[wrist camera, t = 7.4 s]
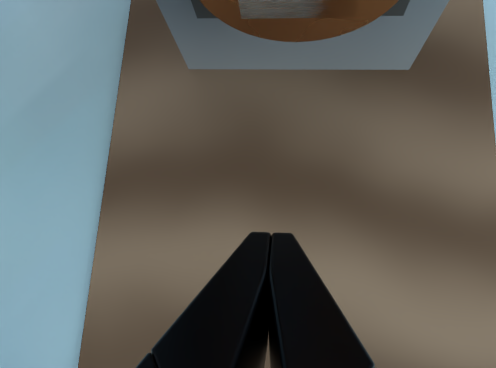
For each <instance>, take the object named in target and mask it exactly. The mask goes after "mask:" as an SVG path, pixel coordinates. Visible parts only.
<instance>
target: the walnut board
mask: <svg viewBox="0 0 496 368" xmlns="http://www.w3.org/2000/svg"><path fill="white" fill-rule="evenodd" d="M251 232H269V233H270V234H271V236H272V234H273V233H275V232H280V233H292V234H293V235H294V236H295V238H296V239H297V241H298V243H299V244H300V246H301V247H302V249H303V251H304V252H305V254H306V255H307V257H308V259H309V260H310V262H311V263H312V265H313V267H314V268H315V270H316V271H317V273H318V274H319V276H320V278H321V279H322V281H323V282H324V284H325V286H326V287H327V289H328V290H329V292H330V294H331V295H332V297H333V298H334V300H335V301H336V303H337V305H338V306H339V308H340V309H341V311H342V313H343V314H344V316H345V317H346V319H347V321H348V322H349V324H350V325H351V327H352V328H353V330H354V332H355V333H356V335H357V336H358V338H359V340H360V341H361V343H362V344H363V346H364V348H365V349H366V351H367V352H368V354H369V356H370V357H371V359H372V360H373V362H374V364H375V367H376V368H496V145H495V133H494V122H493V111H492V99H491V88H490V77H489V65H488V54H487V43H486V31H485V20H484V9H483V0H449V2H448V4H447V5H446V7H445V9H444V11H443V12H442V14H441V16H440V17H439V19H438V21H437V23H436V24H435V26H434V28H433V29H432V31H431V33H430V35H429V36H428V38H427V40H426V41H425V43H424V45H423V47H422V48H421V50H420V52H419V54H418V55H417V57H416V59H415V60H414V62H413V64H412V66H411V67H410V69H409V70H276V69H188V67H187V64H186V62H185V60H184V58H183V56H182V54H181V52H180V50H179V48H178V46H177V44H176V42H175V39H174V37H173V35H172V33H171V31H170V29H169V27H168V25H167V23H166V21H165V19H164V17H163V14H162V12H161V10H160V8H159V6H158V4H157V2H156V0H131V5H130V12H129V19H128V26H127V33H126V40H125V46H124V53H123V60H122V67H121V74H120V81H119V88H118V95H117V102H116V109H115V115H114V122H113V129H112V136H111V143H110V150H109V157H108V164H107V171H106V177H105V184H104V191H103V198H102V205H101V212H100V219H99V226H98V233H97V240H96V246H95V253H94V260H93V267H92V274H91V281H90V288H89V295H88V302H87V308H86V315H85V322H84V329H83V336H82V343H81V350H80V357H79V364H78V368H136V366H137V365H138V364H139V363H140V362H141V360H142V359H143V358H144V357H145V356H146V354H147V353H151V349H152V348H153V347H154V345H155V344H156V343H157V342H158V341H159V340H160V338H161V337H162V336H163V335H164V334H165V332H166V331H167V330H168V329H169V328H170V327H171V325H172V324H173V323H174V322H175V321H176V319H177V318H178V317H179V316H180V315H181V314H182V312H183V311H184V310H185V309H186V308H187V306H188V305H189V304H190V303H191V302H192V301H193V299H194V298H195V297H196V296H197V295H198V293H199V292H200V291H201V290H202V289H203V288H204V286H205V285H206V284H207V283H208V282H209V281H210V279H211V278H212V277H213V276H214V275H215V273H216V272H217V271H218V270H219V269H220V268H221V266H222V265H223V264H224V263H225V262H226V260H227V259H228V258H229V257H230V256H231V255H232V253H233V252H234V251H235V250H236V249H237V247H238V246H239V245H240V244H241V243H242V242H243V240H244V239H245V238H246V237H247V236H248V234H249V233H251ZM264 368H270V356H269V336H268V347H267V354H266V360H265V366H264Z"/></svg>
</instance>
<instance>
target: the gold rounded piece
mask: <svg viewBox="0 0 496 368" xmlns="http://www.w3.org/2000/svg"><path fill="white" fill-rule="evenodd" d="M200 1H201V3H202V4H203V5H204V6H205V7H206V8H207V9H208V10H209V11H210V12H211V13H212V14H213V15H214V16H216V17H217V18H218V19H220V20H221V21H222V22H224V23H226V24H227V25H229V26H231V27H233V28H235V29H237V30H239V31H241V32H244V33H246V34H249V35H252V36H256V37H259V38H263V39H268V40H274V41H283V42H308V41H317V40H323V39H328V38H333V37H336V36H340V35H343V34H346V33H349V32H352V31H354V30H356V29H359V28H361V27H363V26H365V25H367V24H369V23H370V22H372V21H374V20H376V19H377V18H378V17H380V16H381V15H383V14H384V13H385V12H387V11H388V10H389V9H390V8H391V7H392V6H394V5H395V4H396V3H397V2H398V0H200Z"/></svg>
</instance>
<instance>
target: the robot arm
mask: <svg viewBox="0 0 496 368" xmlns="http://www.w3.org/2000/svg"><path fill="white" fill-rule="evenodd" d="M268 336H269V356H270V368H376V367H375V364H374V362H373V360H372V359H371V357H370V356H369V354H368V352H367V351H366V349H365V348H364V346H363V344H362V343H361V341H360V340H359V338H358V336H357V335H356V333H355V332H354V330H353V328H352V327H351V325H350V324H349V322H348V321H347V319H346V317H345V316H344V314H343V313H342V311H341V309H340V308H339V306H338V305H337V303H336V301H335V300H334V298H333V297H332V295H331V294H330V292H329V290H328V289H327V287H326V286H325V284H324V282H323V281H322V279H321V278H320V276H319V274H318V273H317V271H316V270H315V268H314V267H313V265H312V263H311V262H310V260H309V259H308V257H307V255H306V254H305V252H304V251H303V249H302V247H301V246H300V244H299V243H298V241H297V239H296V238H295V236H294V235H293V234H292V233H280V232H275V233H273V234H272V236H271V234H270V233H269V232H251V233H249V234H248V236H247V237H246V238H245V239H244V240H243V242H242V243H241V244H240V245H239V246H238V247H237V249H236V250H235V251H234V252H233V253H232V255H231V256H230V257H229V258H228V259H227V260H226V262H225V263H224V264H223V265H222V266H221V268H220V269H219V270H218V271H217V272H216V273H215V275H214V276H213V277H212V278H211V279H210V281H209V282H208V283H207V284H206V285H205V286H204V288H203V289H202V290H201V291H200V292H199V293H198V295H197V296H196V297H195V298H194V299H193V301H192V302H191V303H190V304H189V305H188V306H187V308H186V309H185V310H184V311H183V312H182V314H181V315H180V316H179V317H178V318H177V319H176V321H175V322H174V323H173V324H172V325H171V327H170V328H169V329H168V330H167V331H166V332H165V334H164V335H163V336H162V337H161V338H160V340H159V341H158V342H157V343H156V344H155V345H154V347H153V348H152V349H151V353H147V354H146V356H145V357H144V358H143V359H142V360H141V362H140V363H139V364H138V365H137V366H136V368H264V366H265V360H266V354H267V347H268Z"/></svg>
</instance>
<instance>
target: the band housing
mask: <svg viewBox="0 0 496 368" xmlns="http://www.w3.org/2000/svg"><path fill="white" fill-rule="evenodd" d="M156 2H157V4H158V6H159V8H160V10H161V12H162V14H163V17H164V19H165V21H166V23H167V25H168V27H169V29H170V31H171V33H172V35H173V37H174V39H175V42H176V44H177V46H178V48H179V50H180V52H181V54H182V56H183V58H184V60H185V62H186V64H187V67H188V69H276V70H409V69H410V67H411V66H412V64H413V62H414V60H415V59H416V57H417V55H418V54H419V52H420V50H421V48H422V47H423V45H424V43H425V41H426V40H427V38H428V36H429V35H430V33H431V31H432V29H433V28H434V26H435V24H436V23H437V21H438V19H439V17H440V16H441V14H442V12H443V11H444V9H445V7H446V5H447V4H448V2H449V0H398V2H397V3H396V4H395V5H394V6H392V7H391V8H390V9H389V10H388V11H387V12H385V13H384V14H383V15H381V16H380V17H378V18H377V19H376V20H374V21H372V22H370V23H369V24H367V25H365V26H363V27H361V28H359V29H356V30H354V31H352V32H349V33H346V34H343V35H340V36H336V37H333V38H328V39H323V40H317V41H308V42H283V41H274V40H268V39H263V38H259V37H256V36H252V35H249V34H246V33H244V32H241V31H239V30H237V29H235V28H233V27H231V26H229V25H227V24H226V23H224V22H222V21H221V20H220V19H218V18H217V17H216V16H214V15H213V14H212V13H211V12H210V11H209V10H208V9H207V8H206V7H205V6H204V5H203V4H202V3H201V1H200V0H156Z"/></svg>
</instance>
